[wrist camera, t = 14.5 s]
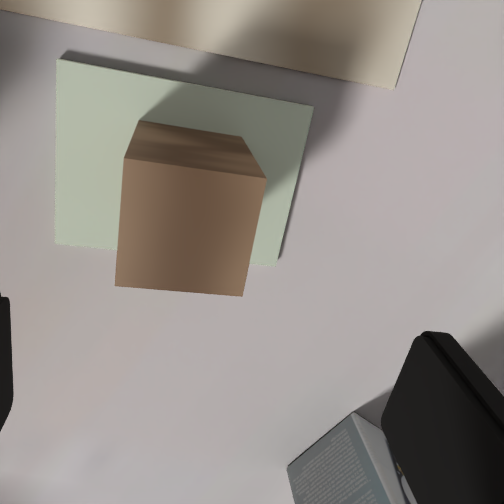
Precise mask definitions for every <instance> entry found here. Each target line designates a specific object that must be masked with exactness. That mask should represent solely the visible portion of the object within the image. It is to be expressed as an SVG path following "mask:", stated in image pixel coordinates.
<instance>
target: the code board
mask: <svg viewBox="0 0 504 504" xmlns="http://www.w3.org/2000/svg"><path fill="white" fill-rule="evenodd" d="M421 1H422V0H0V10H5V11H10V12H15V13H20V14H25V15H30V16H35V17H40V18H44V19H49V20H54V21H59V22H64V23H69V24H74V25H79V26H83V27H88V28H93V29H98V30H103V31H108V32H113V33H118V34H122V35H127V36H132V37H137V38H142V39H147V40H152V41H157V42H161V43H166V44H171V45H176V46H181V47H186V48H191V49H196V50H200V51H205V52H210V53H215V54H220V55H225V56H230V57H235V58H239V59H244V60H249V61H254V62H259V63H264V64H269V65H274V66H278V67H283V68H288V69H293V70H298V71H303V72H308V73H313V74H317V75H322V76H327V77H332V78H337V79H342V80H347V81H352V82H356V83H361V84H366V85H371V86H376V87H381V88H386V89H391V90H394V88H395V85H396V82H397V79H398V75H399V72H400V69H401V66H402V63H403V59H404V56H405V53H406V50H407V46H408V43H409V40H410V37H411V33H412V30H413V27H414V24H415V21H416V17H417V14H418V11H419V8H420V4H421Z"/></svg>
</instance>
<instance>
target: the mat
mask: <svg viewBox="0 0 504 504" xmlns="http://www.w3.org/2000/svg"><path fill="white" fill-rule="evenodd" d="M313 110H314V107H312V106H309V105H304V104H299V103H293V102H288V101H283V100H277V99H272V98H267V97H261V96H256V95H251V94H245V93H240V92H235V91H229V90H224V89H219V88H214V87H208V86H203V85H198V84H192V83H187V82H182V81H176V80H171V79H166V78H160V77H155V76H150V75H144V74H139V73H134V72H128V71H123V70H118V69H113V68H107V67H102V66H97V65H91V64H86V63H81V62H75V61H70V60H65V59H56V158H55V244H61V245H71V246H80V247H90V248H100V249H110V250H117V246H118V232H119V218H120V203H121V189H122V175H123V161H124V156H125V153H126V151H127V148H128V146H129V143H130V141H131V138H132V136H133V133H134V131H135V128H136V126H137V123H138V121H139V120H142V121H148V122H154V123H161V124H167V125H173V126H179V127H185V128H191V129H197V130H203V131H210V132H216V133H222V134H228V135H234V136H240V137H242V138H243V140H244V141H245V143H246V145H247V146H248V148H249V150H250V151H251V153H252V155H253V156H254V158H255V160H256V161H257V163H258V164H259V166H260V168H261V169H262V171H263V173H264V174H265V176H266V178H267V182H266V186H265V191H264V196H263V201H262V205H261V210H260V215H259V220H258V224H257V229H256V234H255V239H254V243H253V248H252V253H251V258H250V262H249V264H256V265H265V266H275V267H276V263H277V259H278V255H279V251H280V247H281V243H282V238H283V234H284V230H285V226H286V222H287V218H288V214H289V209H290V205H291V201H292V197H293V193H294V189H295V185H296V181H297V176H298V172H299V168H300V164H301V160H302V156H303V152H304V148H305V143H306V139H307V135H308V131H309V127H310V123H311V119H312V114H313Z"/></svg>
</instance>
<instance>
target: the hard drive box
mask: <svg viewBox="0 0 504 504" xmlns="http://www.w3.org/2000/svg"><path fill="white" fill-rule="evenodd" d="M287 473H288V477H289V482H290V486H291V490H292V494H293V498H294V502H295V504H417V502H416V500H415V498H414V496H413V494H412V492H411V489H410V487H409V485H408V483H407V481H406V479H405V477H404V475H403V473H402V471H401V468H400V466H399V464H398V462H397V460H396V458H395V456H394V454H393V452H392V449H391V447H390V445H389V443H388V441H387V439H386V437H385V435H384V433H383V431H382V430H381V429H379V428H378V427H376V426H374V425H373V424H371V423H370V422H368V421H367V420H365V419H364V418H362V417H361V416H359V415H358V414H356V413H352V414H350V415H349V416H348V417H347V418H346V419H344V420H343V421H342V422H341V423H340V424H338V425H337V426H336V427H335V428H334V429H332V430H331V431H330V432H329V433H328V434H326V435H325V436H324V437H323V438H322V439H320V440H319V441H318V442H317V443H316V444H314V445H313V446H312V447H311V448H310V449H308V450H307V451H306V452H305V453H304V454H303V455H301V456H300V457H299V458H298V459H297V460H295V461H294V462H293V463H292V464H291V465H289V466H288V467H287Z"/></svg>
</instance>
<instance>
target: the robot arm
mask: <svg viewBox="0 0 504 504" xmlns="http://www.w3.org/2000/svg"><path fill="white" fill-rule="evenodd" d="M12 402H13V370H12V345H11V320H10V301H9V298H8V297H1V293H0V431H1V429H2V427H3V425H4V423H5V421H6V419H7V417H8V415H9V412H10V410H11V407H12ZM381 426H382V430H383V433H384V435H385V437H386V439H387V441H388V443H389V445H390V447H391V449H392V452H393V454H394V456H395V458H396V460H397V462H398V464H399V466H400V468H401V471H402V473H403V475H404V477H405V479H406V481H407V483H408V485H409V487H410V489H411V492H412V494H413V496H414V498H415V500H416V502H417V504H504V396H503V395H502V394H501V393H500V392H499V391H498V389H497V388H496V387H495V386H494V385H493V384H492V382H491V381H490V380H489V379H488V378H487V376H486V375H485V374H484V373H483V372H482V371H481V369H480V368H479V367H478V366H477V365H476V364H475V362H474V361H473V360H472V359H471V358H470V356H469V355H468V354H467V353H466V352H465V351H464V349H463V348H462V347H461V346H460V345H459V344H458V342H457V341H456V340H455V339H454V338H453V336H451V335H450V334H449V333H443V332H433V331H425V332H423V333H422V334H421V335H420V336H417V337H416V338H415V339H414V341H413V343H412V345H411V348H410V350H409V353H408V355H407V357H406V360H405V362H404V365H403V367H402V369H401V372H400V374H399V376H398V379H397V381H396V384H395V386H394V388H393V391H392V393H391V395H390V398H389V400H388V403H387V405H386V407H385V410H384V412H383V414H382V418H381Z"/></svg>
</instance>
